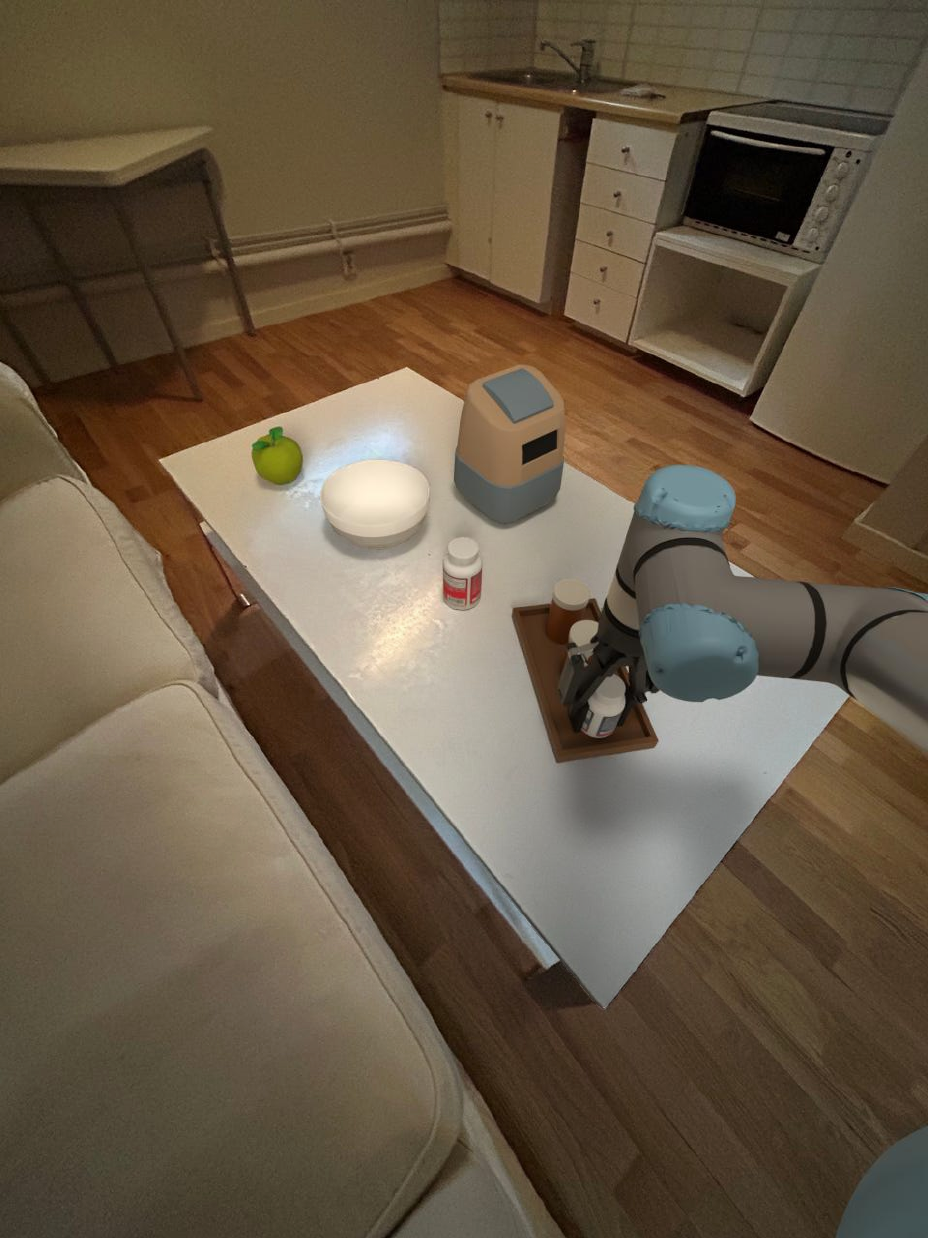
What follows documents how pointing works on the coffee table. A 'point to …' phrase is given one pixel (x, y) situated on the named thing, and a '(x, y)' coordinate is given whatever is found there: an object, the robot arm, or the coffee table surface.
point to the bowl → (376, 502)
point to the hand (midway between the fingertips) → (595, 720)
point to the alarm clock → (510, 443)
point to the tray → (545, 679)
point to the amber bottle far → (566, 608)
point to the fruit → (277, 457)
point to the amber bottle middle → (581, 636)
